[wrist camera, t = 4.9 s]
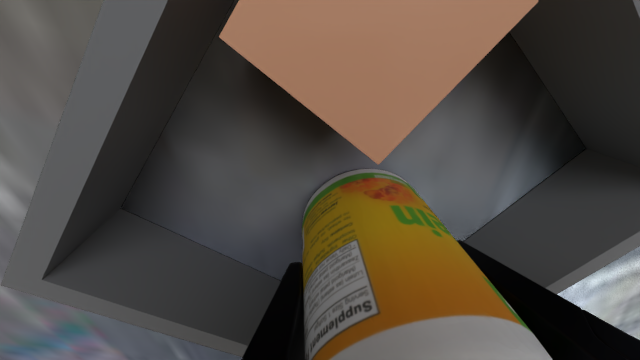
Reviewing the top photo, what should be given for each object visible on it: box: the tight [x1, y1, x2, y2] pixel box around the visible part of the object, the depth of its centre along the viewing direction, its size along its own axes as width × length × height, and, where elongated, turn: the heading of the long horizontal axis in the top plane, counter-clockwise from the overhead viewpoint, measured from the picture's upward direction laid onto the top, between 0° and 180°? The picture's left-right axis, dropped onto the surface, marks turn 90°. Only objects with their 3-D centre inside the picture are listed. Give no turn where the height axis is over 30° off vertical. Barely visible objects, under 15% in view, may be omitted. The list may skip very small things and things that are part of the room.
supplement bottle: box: [302, 169, 553, 360], centre depth 7 cm, size 5×5×10 cm
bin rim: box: [1, 0, 640, 357], centre depth 9 cm, size 16×16×4 cm
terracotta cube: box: [219, 0, 539, 165], centre depth 6 cm, size 4×4×4 cm
